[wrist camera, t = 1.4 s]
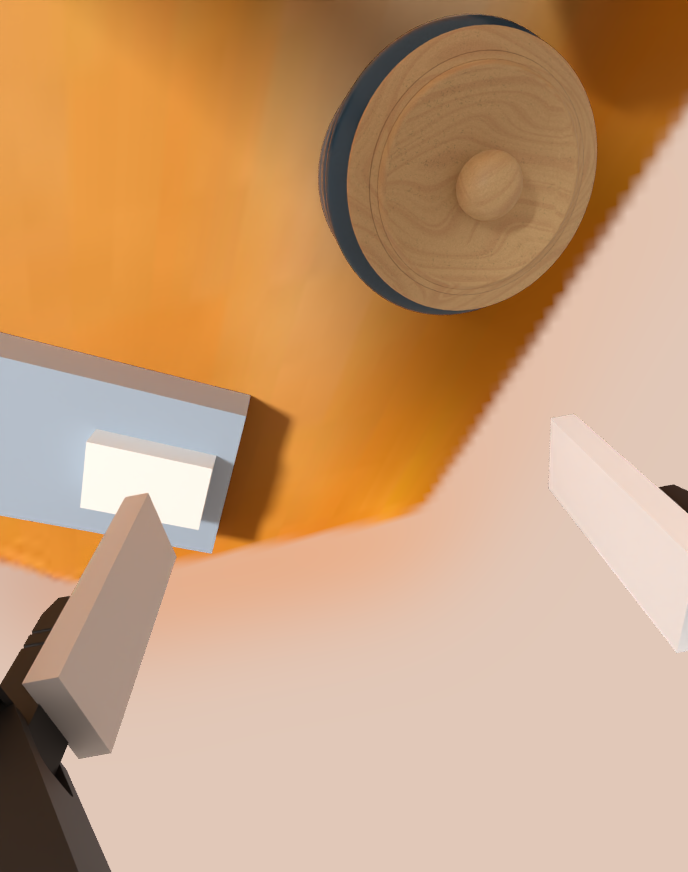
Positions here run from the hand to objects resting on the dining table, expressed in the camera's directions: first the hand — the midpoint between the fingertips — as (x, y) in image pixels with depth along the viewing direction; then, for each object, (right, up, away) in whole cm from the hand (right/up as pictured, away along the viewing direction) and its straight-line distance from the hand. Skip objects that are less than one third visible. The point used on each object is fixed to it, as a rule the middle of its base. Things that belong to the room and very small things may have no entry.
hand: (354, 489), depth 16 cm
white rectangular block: (-16, -1, +23) cm, 28 cm away
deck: (-21, +2, +26) cm, 33 cm away
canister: (+4, +20, +18) cm, 27 cm away
